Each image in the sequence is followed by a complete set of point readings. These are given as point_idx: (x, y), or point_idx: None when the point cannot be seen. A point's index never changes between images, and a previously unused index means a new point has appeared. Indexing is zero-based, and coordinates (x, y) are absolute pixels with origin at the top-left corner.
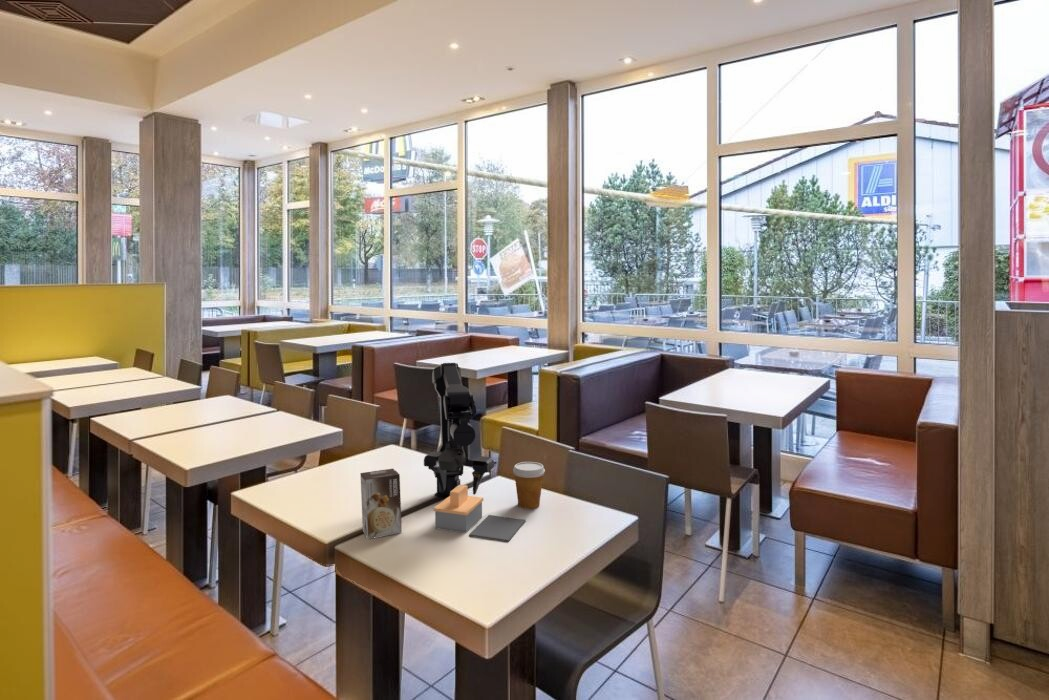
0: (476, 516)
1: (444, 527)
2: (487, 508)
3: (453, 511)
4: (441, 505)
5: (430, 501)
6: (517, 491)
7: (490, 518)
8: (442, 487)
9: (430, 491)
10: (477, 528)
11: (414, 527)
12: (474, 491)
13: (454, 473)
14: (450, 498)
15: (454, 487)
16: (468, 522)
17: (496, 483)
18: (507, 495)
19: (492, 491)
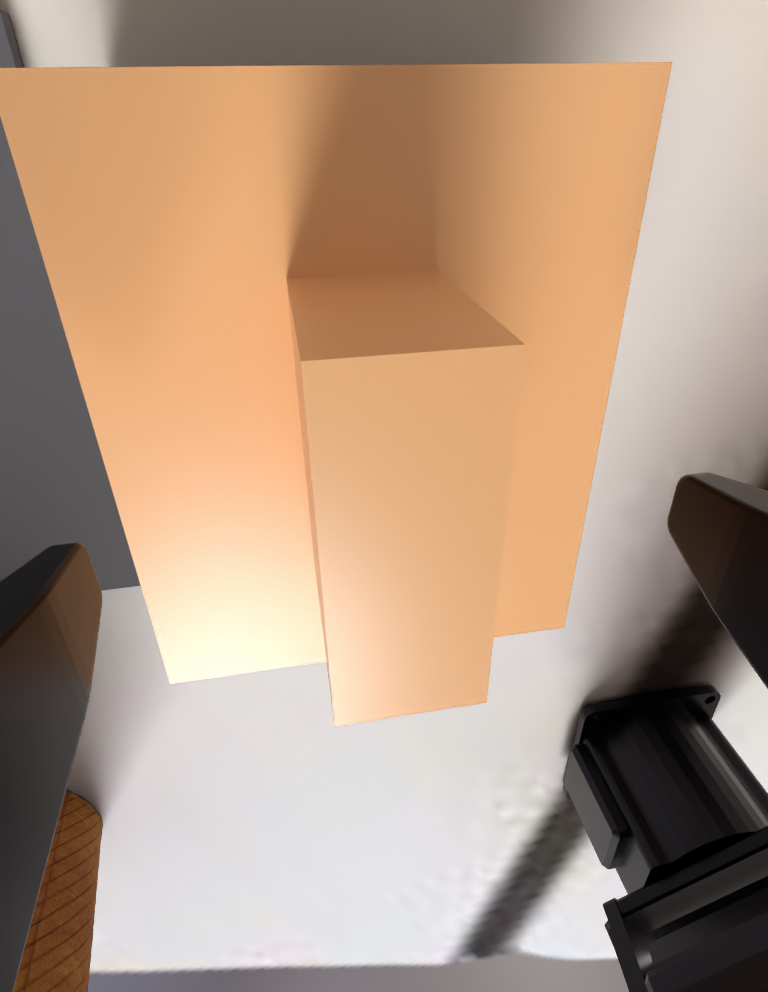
0: None
1: None
2: (268, 680)
3: (283, 70)
4: (576, 233)
5: None
6: (36, 913)
7: (89, 524)
8: (740, 494)
9: (750, 719)
10: (34, 244)
11: (751, 41)
12: (14, 575)
13: (670, 902)
14: (467, 300)
15: (610, 784)
16: None
17: (408, 924)
18: (258, 861)
19: (378, 859)
